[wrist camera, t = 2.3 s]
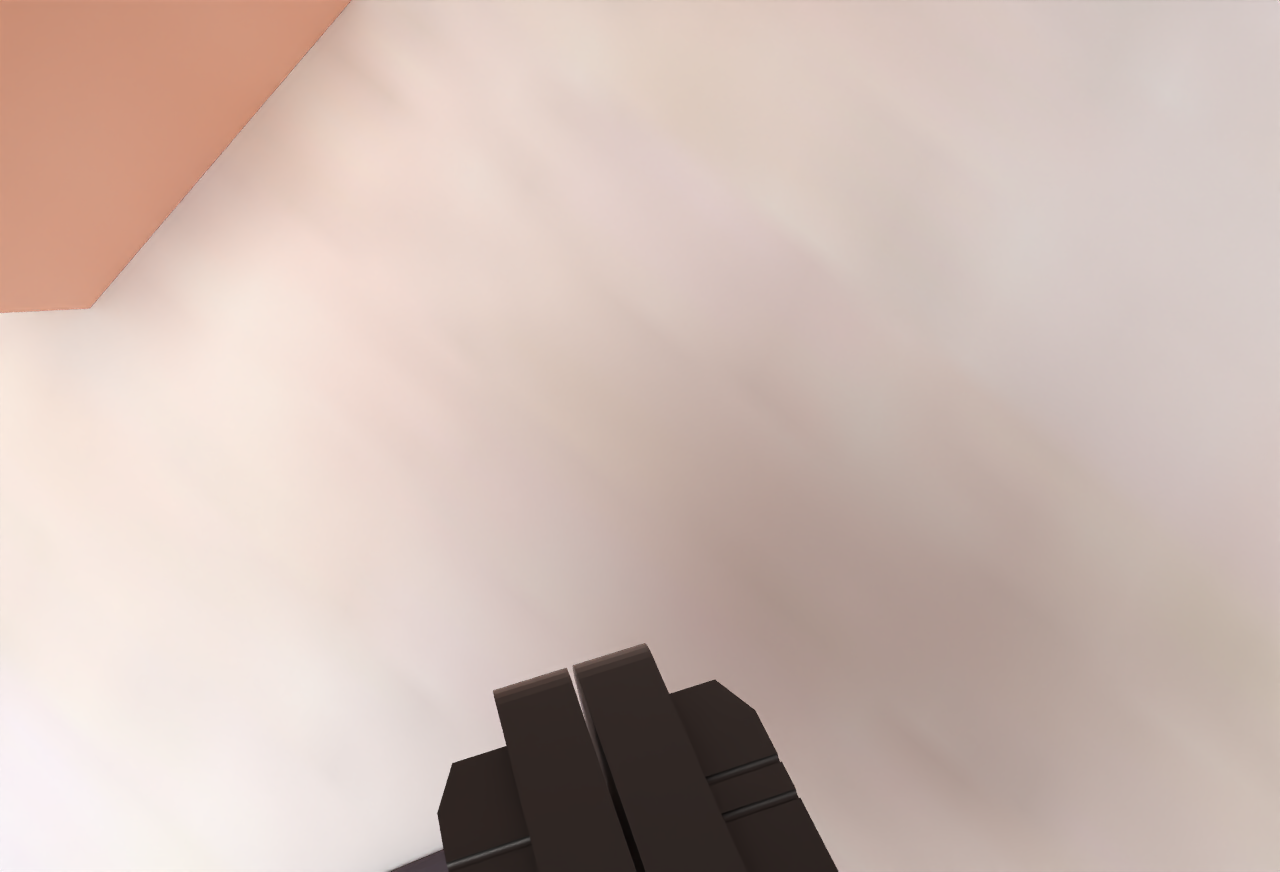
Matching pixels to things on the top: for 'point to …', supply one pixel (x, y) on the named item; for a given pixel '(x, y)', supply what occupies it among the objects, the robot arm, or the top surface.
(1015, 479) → the top surface
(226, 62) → the tile
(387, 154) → the top surface
